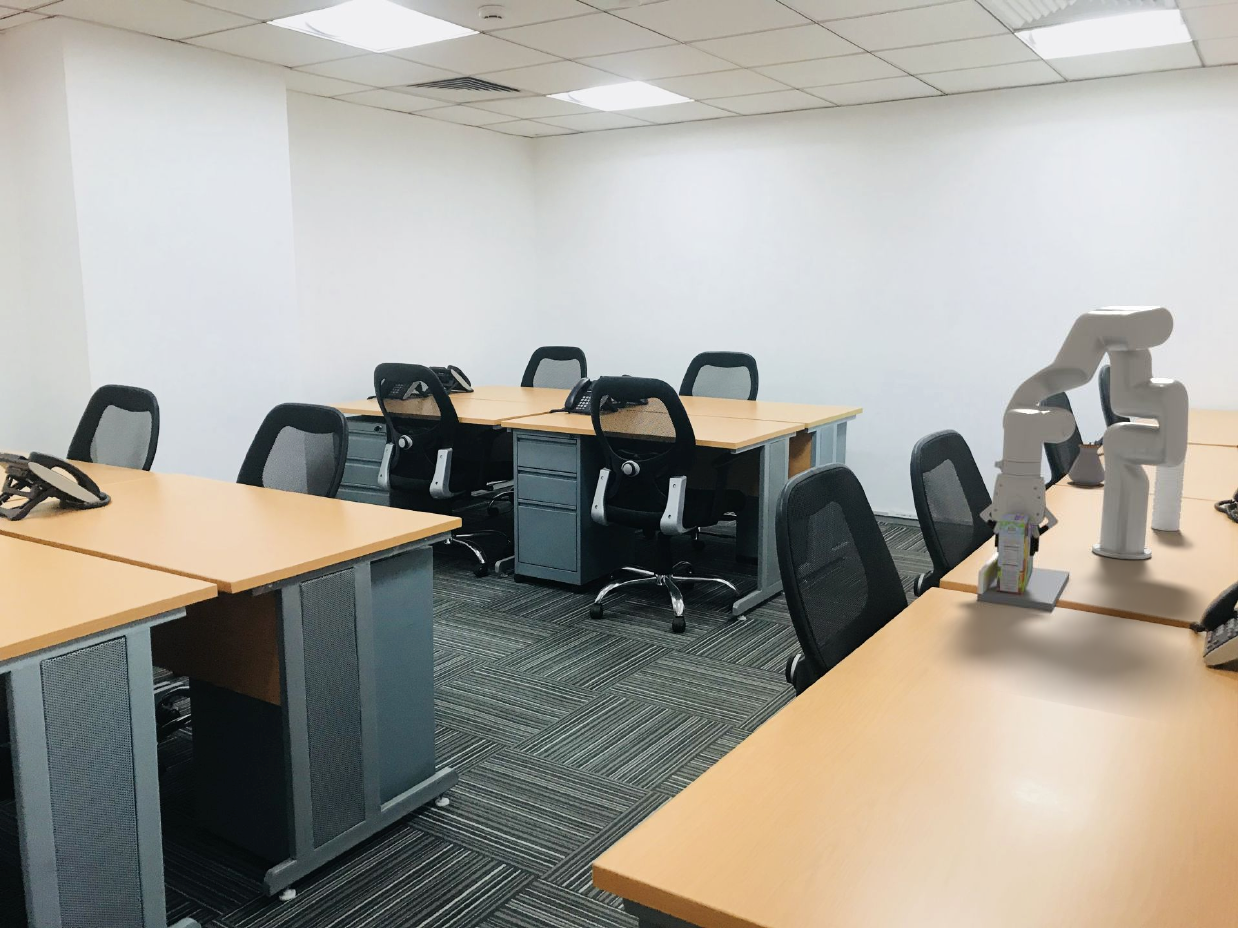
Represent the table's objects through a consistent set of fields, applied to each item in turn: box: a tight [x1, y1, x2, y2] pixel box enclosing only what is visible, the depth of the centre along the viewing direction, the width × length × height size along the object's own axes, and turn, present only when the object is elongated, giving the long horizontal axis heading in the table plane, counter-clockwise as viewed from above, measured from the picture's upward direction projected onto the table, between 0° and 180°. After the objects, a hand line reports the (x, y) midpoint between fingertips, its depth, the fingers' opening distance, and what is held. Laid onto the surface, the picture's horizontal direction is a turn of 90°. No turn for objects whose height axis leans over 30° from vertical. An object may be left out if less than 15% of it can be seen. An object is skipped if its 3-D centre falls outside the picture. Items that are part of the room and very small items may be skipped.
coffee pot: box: [1067, 443, 1105, 486], centre depth 311 cm, size 21×12×15 cm, turn 56°
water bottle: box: [1150, 457, 1186, 532], centre depth 250 cm, size 9×6×25 cm
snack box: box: [996, 514, 1034, 594], centre depth 199 cm, size 21×6×15 cm, turn 151°
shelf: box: [976, 551, 1071, 612], centre depth 199 cm, size 26×14×6 cm, turn 148°
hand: (1016, 552), depth 199 cm, fingers closed on snack box, 5 cm apart
